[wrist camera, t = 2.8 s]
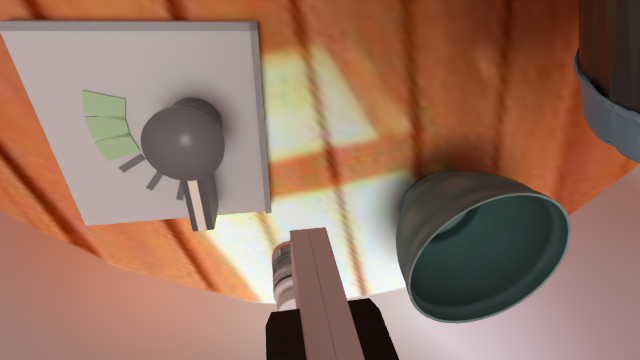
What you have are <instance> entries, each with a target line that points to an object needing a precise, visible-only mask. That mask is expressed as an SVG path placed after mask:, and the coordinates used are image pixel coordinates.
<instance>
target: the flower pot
mask: <svg viewBox="0 0 640 360" xmlns="http://www.w3.org/2000/svg"><path fill="white" fill-rule="evenodd" d="M570 239H571V223H570V219H569V216H568V213H567V212H566V210H565V209H564V208H563V206H562V205H561V204H559V203H558V202H557V201H555V200H554V199H552V198H550V197H549V196H547V195H545V194H542V193H540V192H537V191H535V190H533V189H531V188H529V187H528V186H526V185H524V184H522V183H519V182H517V181H515V180H512V179H510V178H507V177H503V176H500V175H495V174H491V173H485V172H476V171H463V172H454V171H440V172H436V173H433V174H430V175H428V176H426V177H424V178H422V179H420V180H419V181H418V182H416V183H415V184H414V185H413V186H412V187H411V188H410V189H409V190H408V192H407V193H406V195H405V196H404V198H403V200H402V203H401V207H400V218H399V222H398V227H397V235H396V247H397V256H398V262H399V266H400V269H401V272H402V275H403V278H404V280H405V283H406V287H407V291H408V294H409V297H410V300H411V302H412V304H413V305H414V307H415V308H416V309H417V310H418V311H419V312H420V313H421V314H423V315H424V316H426V317H428V318H430V319H433V320H435V321H438V322H444V323H466V322H473V321H477V320H482V319H485V318H488V317H491V316H495V315H497V314H499V313H502V312H504V311H506V310H508V309H509V308H512V307H514V306H515V305H517V304H519V303H521V302H522V301H523V300H525V299H526V298H528V297H529V296H531V295H532V294H533V293H534V292H536V291H537V290H538V289H539V288H540V287H541V286H542V285H543V284H545V283H546V282H547V281H548V279H549V278H550V277H551V276H552V275H553V274H554V272H555V271H556V270H557V268H558V267H559V265H560V264H561V262H562V260H563V259H564V256H565V254H566V252H567V250H568V247H569V243H570Z"/></svg>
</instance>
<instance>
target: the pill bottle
mask: <svg viewBox="0 0 640 360" xmlns="http://www.w3.org/2000/svg"><path fill="white" fill-rule="evenodd" d="M272 267H273V292H274V299H275V301H276V303H277V309H278V311H284V310H291V309H296V303H295V296H294V288H293V280H292V263H291V242H286V243H283V244H281V245H280V246H278V247H277V248H276V249H275V251H274V252H273V255H272Z"/></svg>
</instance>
